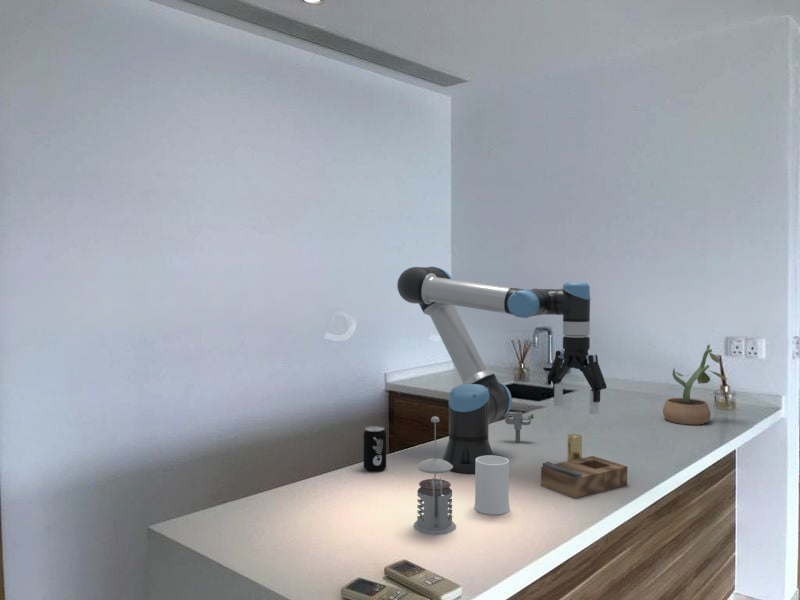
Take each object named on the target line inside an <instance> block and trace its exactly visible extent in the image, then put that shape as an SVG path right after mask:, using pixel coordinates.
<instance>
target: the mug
mask: <svg viewBox="0 0 800 600" xmlns="http://www.w3.org/2000/svg"><path fill="white" fill-rule="evenodd" d="M474 475H475V477H474V478H475V479H474V483H475V484H474V485H475V486H474V492H475V493H474V506H473V508H474V510H475V511H476V512H478V513H479V514H484V515H489V516H490V515H491V516H498V515H499V516H501V515H504V514H508V512H510V509H511V508H510V502H509V501H510V500H509V498H510V497H509V496H510V488H509V487H510V484H509V483H510V460H509V459H508V458H507V457H504V456H499V455H494V454H493V455H487V456H480V457H477V458H476V460H475V473H474Z"/></svg>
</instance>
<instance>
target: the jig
mask: <svg viewBox="0 0 800 600" xmlns="http://www.w3.org/2000/svg"><path fill="white" fill-rule="evenodd" d="M540 486H543V487H544V488H547V489H550V490H553V491H555V492H558V493H560V494H563V495H565V496H568V497H570V498H573V499H577V498H581V497H585V496H589V495H594V494H597V493H601V492H604V491H608V490H613V489H616V488H620V487H621V488H622V487H624V486H628V466H627V465H624V464H621V463H617V462H614V461H610V460H607V459H605V458H600V457H598V456H593V455H590V456H586V457H582V458H581V459H576V460H571V461H567V460H566V461H562V462H557V463H553V462H550V461H545V462H542V466H541V468H540Z"/></svg>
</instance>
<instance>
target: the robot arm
mask: <svg viewBox="0 0 800 600" xmlns="http://www.w3.org/2000/svg"><path fill="white" fill-rule="evenodd" d="M396 283H397V285H396V287H397V291H398V294H399V296H400V298H402V299H403V300H404V301H405V302H407V303H409V304H418V305H419V307H420V308H421V309H420V310H422V313H423V314H424V315H427V316H429V317H430V318H431V320H432V323H433V325H434V327H435V328H436V330H437V331H436V332H437V333H438V334H439V336H440V339H441V341H442V343H443V345H444V346H445V349H446V351H447V352H448V355H449V357H450V359H451V361H452V364H453V365H454V367H455V369H456V371H457V373H458V375H459V376H460V380H461V381H462V384H460V385H457V386H454V387H453V388H452V389H451V390H450V392H449V397H448V442H447V445H446V448H445V452H444V455H443V457H442V460H445V461H447V462H449V463H450V464H451V465H452V466H453V468H452V469H451V470H450V471H451V472H453V473H454V472H455V473H459V474H460V473H461V474H475V460H476V458H477V457H480V456H487V455H493V456H494V454H493V451H492V448H491V445H490V444H491V443H490V441H489V429H490V428H489V427H490V425H491V424H492V423H494V422H497V421H499V420H502V419H503V418H505V417H504V416H505V415H506V414H507V413H508V412H510V410H511V408H512V403H513V398H512V394H511V391H510V389H509V388H508V387H507V385H505V384H504V383H501V382H500V381H499V380H498V378H497V376H496V374H495V372H492V371H489V370H488V369H487V367H486V366H485V363H484V361H483V359H482V356H481V355H480V353H479V351H478V349H477V347H476V345H475V344H474V342H473V339H472V337H471V335H470V334H469V332H468V329H467V328H466V326H465V324H464V322H463V320H462V318H461V316H460V314H459V311H458V310H457V308H456V306H457V307H458V306H459V307H462V308H463V307H464V308H470V309H476V310H482V311H483V310H484V311H489V312H496V313H501V314H507V315H512V316H514V317H516V318H521V319H527V318H531V317H535V316H541V315H543V316H545V315H553V316H554V315H558V316H562V334H563V337H562V349H560V350H556V351H555V357H554V359H553V363H552V366H551V368H550V370H549V372H548V375H547V380H548V381H551V382H552V393H553V394H554V396H553V397H554V398H553V399H554V401H553V406H556V407H558V406H563V398H564V395H563V393H564V392H563V391H564V390H563V388H564V384H563V382H562V381H563V379H564V377H565V376H566V375H567V373H568V372H569V371H570V369H575V370H579V371H580V372H581V373H582V374H583V376H584V377H585V380H586V382H587V383H588V385H589V386H590V388H591V390H589V414H590V415H594V414H599V403H600V402H601V391H602V390H605V389H607V383H606V381H605V378H604V375H603V373H602V370H601V367H600V364H599V359H598V358H599V357H598V355H597V354H589V350H590V347H591V346H590V345H591V343H590V341H591V340H590V337H589V335H590V330H591V329H590V328H591V325H590V324H591V322H590V321H591V320H590V319H591V317H590V316H591V315H590V314H591V290H590V284H588V283H587V282H564V283H563V285H562V288H559V289H557V288H556V289H553V288H530V289H529V288H528V289H524V288H516V287H508V286H501V285H493V284H488V283H479V282H473V281H467V280H459V279H458V280H457V279H453V278H452V276H451V274H450V273H449V272H448V271H446V270H445V269H443V268H441V267H437V266H427V267H426V266H425V267H424V266H423V267H422V266H412V267H409V268H406V269H405V270H403V272H402V273H401V274H400V276H399V278H398V279H397V282H396ZM489 424H490V425H489Z"/></svg>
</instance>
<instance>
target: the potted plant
mask: <svg viewBox="0 0 800 600" xmlns="http://www.w3.org/2000/svg"><path fill="white" fill-rule="evenodd" d="M710 347H711V345H710V344H707V346H706V348H705V349H706V350H705V351H704V352H703V355H702V358H701V359H702V360H701V362H700V366H699V367H698V368H697V369H696V370H695V371H694V372H693V374H692V375H691V376H690V377H689V378H688V380H687V381H685V380H683V379H682V378H680V377H684V374H681V373H679V372H677V371H675V370H676V369H675V367H673V369H672V373H671V374H672V377H673V379H674V380H675V381H676V382H677V383H678V384H679V385H681V386H682V387H683V388H684V389H683V392H682V393H683V394H682V397H672V398H667V399H665V403H664V404H663V408H662V413H663V417H664V419H665V420H667V421H668V422H670V423H673V422H674V424H677V423H679V424H678V425H684V424H686V425H687V426H700V424H702V425H705V424H707V423H708V422H709V421H710V419H711V415H712V413H711V410H710V407H709V405H708V403H707V401H705V400H701V399H696V398H691V390H692V387H693V385H694V382H695V381H696V380H697V382H698V384H699V385H700V384H708V383H709V382H710V381H711V378H710V376H709V375H708V374H707V373H706V371H707V370H708V371H710V372H711V373H712V374H714V375H716V376H717V377H719V378H721V380H728V378H727V377H725V376H724V375H723V374H721V373H718V372H716V371H712V370H710V369H709V368H710V366H711V365H709V364H707V365H706V361H707V358H708V355H709V357H710V359H712V360H713V362H715V363H718V364H720V361H719V357H718V356H717V355H716V354H714V353H712V352H713V350H712V348H710ZM689 375H690V374H687V375H686V377H688V376H689ZM704 423H705V424H704ZM686 425H685V426H686Z"/></svg>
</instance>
